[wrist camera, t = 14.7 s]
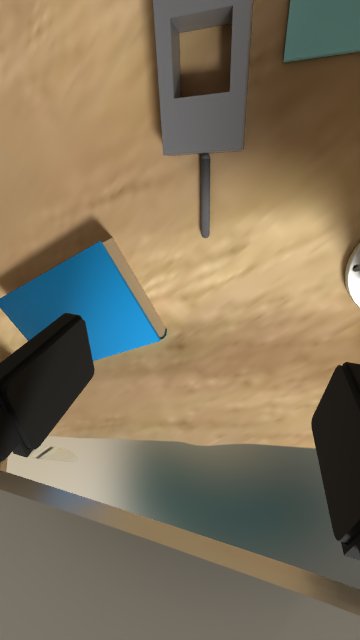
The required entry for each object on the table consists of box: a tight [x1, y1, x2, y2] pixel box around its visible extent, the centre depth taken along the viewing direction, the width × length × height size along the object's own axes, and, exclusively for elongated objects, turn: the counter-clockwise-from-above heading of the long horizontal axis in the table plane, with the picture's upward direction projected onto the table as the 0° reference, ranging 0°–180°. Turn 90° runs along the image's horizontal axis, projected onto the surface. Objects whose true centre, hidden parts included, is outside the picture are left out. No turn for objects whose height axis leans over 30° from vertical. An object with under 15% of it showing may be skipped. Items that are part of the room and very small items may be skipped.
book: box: [0, 238, 167, 361], centre depth 43 cm, size 17×4×25 cm
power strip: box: [153, 0, 253, 238], centre depth 23 cm, size 33×8×4 cm, turn 3°
